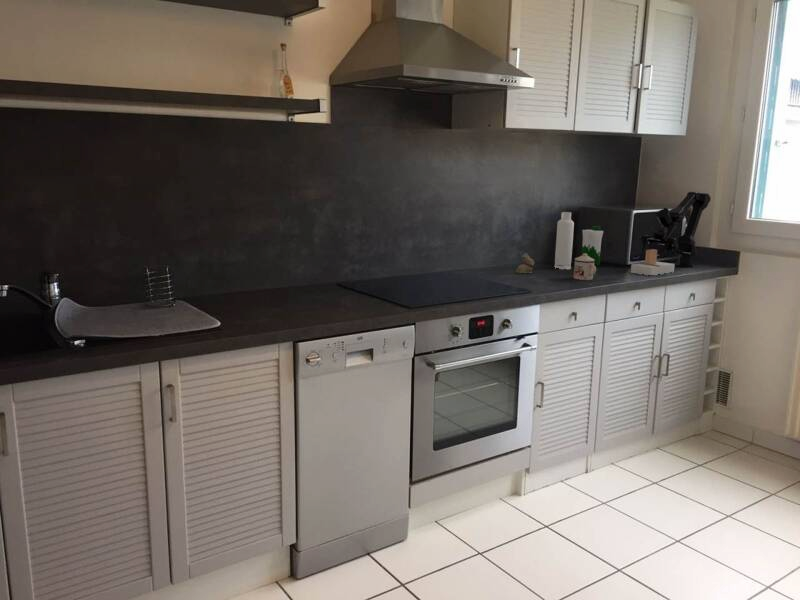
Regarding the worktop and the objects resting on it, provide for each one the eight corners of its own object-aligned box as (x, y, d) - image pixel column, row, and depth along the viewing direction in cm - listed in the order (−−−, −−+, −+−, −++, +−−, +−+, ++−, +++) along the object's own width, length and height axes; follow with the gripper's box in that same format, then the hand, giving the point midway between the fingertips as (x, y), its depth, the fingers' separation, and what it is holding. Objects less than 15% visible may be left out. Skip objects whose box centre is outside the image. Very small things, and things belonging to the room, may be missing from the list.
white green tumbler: (602, 265, 338) (605, 227, 334) (587, 266, 335) (590, 227, 331) (592, 263, 346) (595, 225, 342) (577, 263, 344) (580, 225, 339)
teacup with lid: (568, 277, 302) (570, 252, 300) (583, 276, 306) (585, 251, 304) (586, 282, 292) (588, 256, 289) (602, 280, 296) (604, 255, 293)
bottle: (573, 269, 325) (577, 213, 319) (558, 269, 324) (562, 213, 318) (566, 266, 333) (570, 211, 327) (551, 267, 331) (555, 211, 325)
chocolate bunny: (530, 275, 307) (531, 254, 305) (514, 273, 312) (515, 252, 310) (534, 273, 312) (535, 252, 310) (519, 271, 316) (520, 251, 314)
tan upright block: (650, 271, 324) (653, 249, 322) (655, 271, 322) (657, 249, 320) (643, 272, 320) (646, 250, 318) (648, 272, 319) (650, 250, 316)
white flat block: (653, 268, 330) (654, 260, 329) (673, 272, 322) (674, 263, 321) (630, 272, 318) (631, 263, 317) (650, 276, 310) (651, 266, 309)
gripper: (643, 218, 326) (628, 242, 322) (678, 222, 312) (663, 246, 307) (650, 233, 332) (636, 256, 328) (685, 237, 318) (670, 261, 314)
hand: (650, 254), depth 319 cm, fingers open, 9 cm apart
